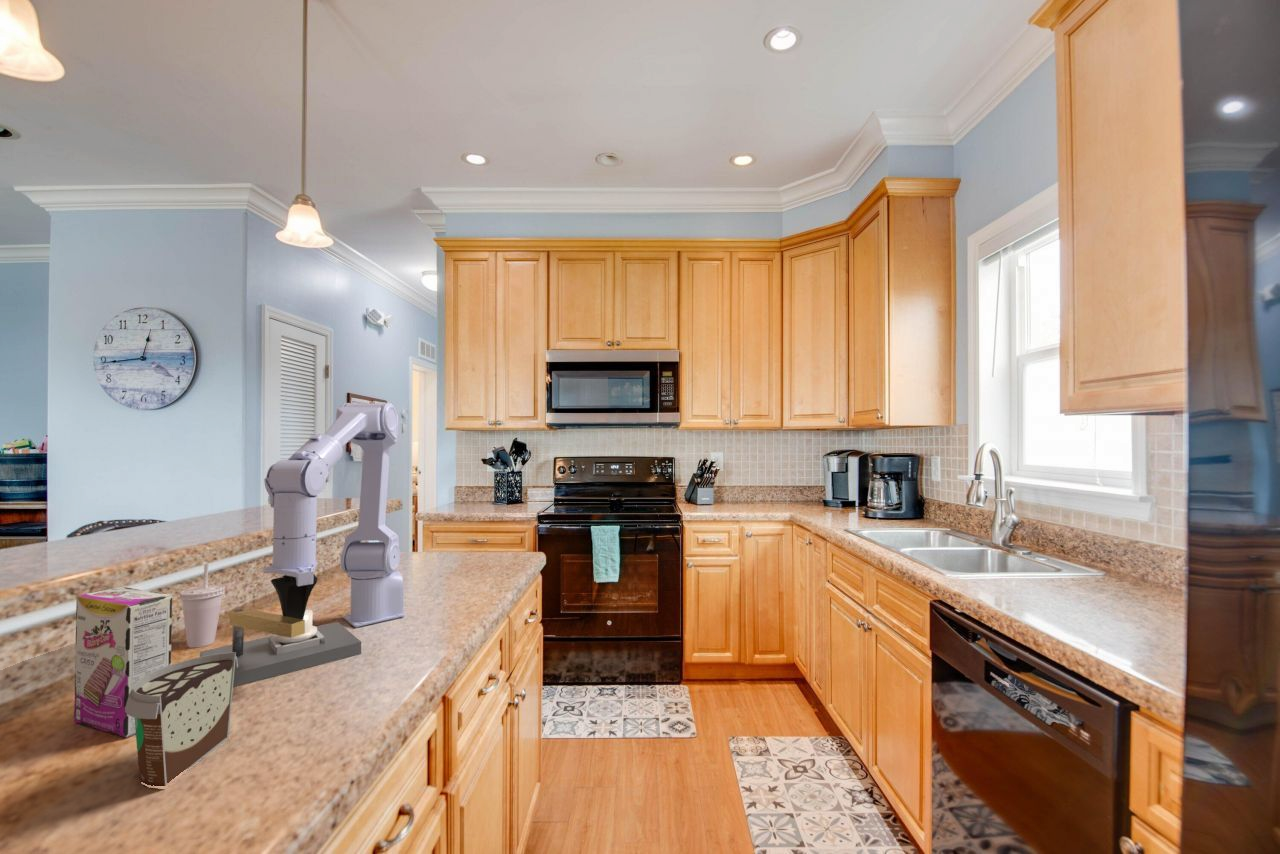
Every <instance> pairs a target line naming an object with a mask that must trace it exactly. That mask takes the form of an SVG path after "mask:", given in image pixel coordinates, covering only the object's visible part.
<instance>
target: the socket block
mask: <svg viewBox="0 0 1280 854" xmlns="http://www.w3.org/2000/svg"><path fill="white" fill-rule="evenodd" d="M316 627H317V634H316V635H315V636H314V637H312V639H309V640H305V641H301V642H296V643H292V644H288V645H283V646H282V645H281V642H277V641H276V635H275V634H274V635H271V636H266V637H261V638H256V639H252V640H247V641H243V655H241V656H237V661H238V668H235V670H234V681H233V688H234V687H240V686H243V685H247V684H250V683H254V682H258V681H259V682H260V681H262V680H266V679H270V678H274V677H277V676H280V675H285V674H289V673H292V672H296V671H300V670H303V669H304V670H305V669H308V668H312V667H316V666H320V665H324V664H327V663H330V662H335V661H338V660H342V659H346V658H349V657H354V656H358V655H361V654H362V641H361V640H360V639H359V638H357V636H356V635H354V634H353V633H351V632H350V631H349V630H348V629H347V628H346V627H345V626H344V625H342V624H341V623H340V622H339V621H336V622H330V623H327V624H321V625H317V626H316ZM220 653H232V644H229V645H224V646H221V647H220V646H219V647H214V648H211V649H207V650H205V649H204V650H201V651H200V654H199V657H202V656H207V655H213V654H220Z"/></svg>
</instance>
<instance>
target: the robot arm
mask: <svg viewBox="0 0 1280 854" xmlns="http://www.w3.org/2000/svg"><path fill="white" fill-rule="evenodd" d="M399 420H400V418H399V415H398V412H397V409H396V407H395V406H394V405H393V404H392V403H391V402H385V403H350V402H345V403H342V404H341V405H340V406H339V407H338V408H337V409H336V414H335V421H334V422H333V423H332V424H331V426H330V427H329V428H328V429H327V431H326V432H325V433H323V434H312V435H311V436H310V437H309V438H308V440H307V441H306V442H305V443H303V445H302V446H301V447H300V448H298V450H296V451H295V452H294V453H293V454H292V455H291V456H289V458H287V459H282V460H277V461H276V462H275V463H274V464H272V465H271V466H270V467H268V469H267V472H266V475H265V478H264V487H265V490H266V492H267V494H268V496H269V497H268V498H269V505H270V507H271V508H273V524H272V525H273V526H272V527H273V528H272V529H273V530H272V539H273V540H272V565H269V566H264V567H263V568H262V573H264V574H272V573H273V574H277V575H282V577H277V578H272V579H271V580H270V582H271V584H272V586H273V587H274V589H275V591H276V594H277V595H278V600H279V603H280V607H281V613H282V615H283V616H287V617H292V618H297V619H303V617H304V614H305V610H306V609H307V605H308V602H309V599H310V596H311V593H312V591H313V589H314V587H316V584H317V582H318V577H317V576H316V575H315V571H316V569H317V568H318V560H317V524H318V523H317V522H318V521H317V517H318V515H317V513H318V495H320V494H321V493H322V492H323V491H324V489H325V485H326V483H327V479H328V477H329V475H330V473H329V471H331V470H332V468H333V467H335V465H336V464H337V463H338V462H339V460H341V458H342V456H343V454H344V453H343V452H344V449H343V448H344V446H346V444H347V443H349V442H351V443H352V444H354V445H356V446H359V447H360V449H362V467H361V469H362V470H361V482H360V483H361V484H360V495H359V496H360V497H359V512H358V525H357V528H355V529H354V530H353V531H351V532H350V533H349V534H348V535H346V536H345V539H344V544H343V548H342V551H341V554H340V559H339V561H340V567H341V569H342V571H343V572H344V573H345V574H346V575H347V578H350V605H349V608H350V612H349V614H346V615H343V618H342V619H344V620H345V621H347V622H348V623H349V624H350V625H352V627H354V628H358V627H364V626H367V625H373V624H377V623H381V622H385V621H389V620H394V619H399V618H403V617H405V616H406V615H405V613H404V597H405V596H404V595H405V594H404V592H405V591H404V589H405V588H404V586H405V585H404V579H403V575H402V573H401V572H400V571H399V570H396V569H398V566H399V564H400V561H401V549H400V542H399V541H400V538H399V535H398V534H397V533H396V532H395V531H393V530H392V529H390V528H389V527H388V526H387V525H386V521H387V519H386V518H387V506H388V505H387V503H388V487H389V485H388V484H389V472H390V471H389V469H390V454H391V453H390V451H391V447H392V446H393V445H395V444H397V443H398V442H397V440H398V436H399ZM363 541H364V542H363ZM365 541H366V542H365ZM367 541H368V542H367ZM369 541H372V542H369ZM375 541H376V542H375ZM378 541H379V542H378Z"/></svg>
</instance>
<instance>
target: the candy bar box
mask: <svg viewBox="0 0 1280 854" xmlns="http://www.w3.org/2000/svg"><path fill="white" fill-rule="evenodd" d="M75 598H76V599H75V600H76V604H75V605H76V608H75V611H76V613H75V615H76V616H75V666H74V668H75V669H74V672H75V673H74V675H75V676H74V708H73V709H74V710H73V711H74V712H73V722H74V723H77V724H80V725H84V726H87V727H90V728H93V729H97V730H100V731H102V732H103V731H104V732H107V733H109V734H113V735H117V736H118V737H119V736H120V737H123V738H130V737H133V736H136V730H135V718H134V717H131V716H129V715H128V714H127V713H126V712H125V707H126V704H127V700H128V697H129V694H130V692H131V690H132V689H133V687H134V685H135V683H136V682H137V681H138V680H140V679H141V678H143V677H144V676H146V675H148V674H150V673H152V672H154V671H156V670H158V669H161V668H163V667H166V666H169V665H172V629H173V628H172V627H173V625H172V624H173V623H172V622H173V620H172V618H173V617H172V616H173V595H172V594H168V593H164V592H163V593H161V592H156V591H151V590H150V591H149V590H143V589H138V588H131V587H125V586H117V587H113V588H111V587H110V588H108V589H101V590H97V591H94V592H86V593H84V594H80V595H76V597H75Z"/></svg>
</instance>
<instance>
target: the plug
mask: <svg viewBox="0 0 1280 854" xmlns="http://www.w3.org/2000/svg"><path fill="white" fill-rule="evenodd" d="M282 616H283V614H282ZM313 616H314V613H313V610H312V609H307V608H306V610H305V614H304V617H303V620H305V633H304V634H301V635H298V636H295V637H293V638H289V637H285V636H280V635H276V641H277V642H281V645H282V646H283V645H288V644H292V643H296V642H301V641H305V640H309V639H312V637H314V636H315V635H316V634H317V626H316V625H313V619H314V618H313Z"/></svg>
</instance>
